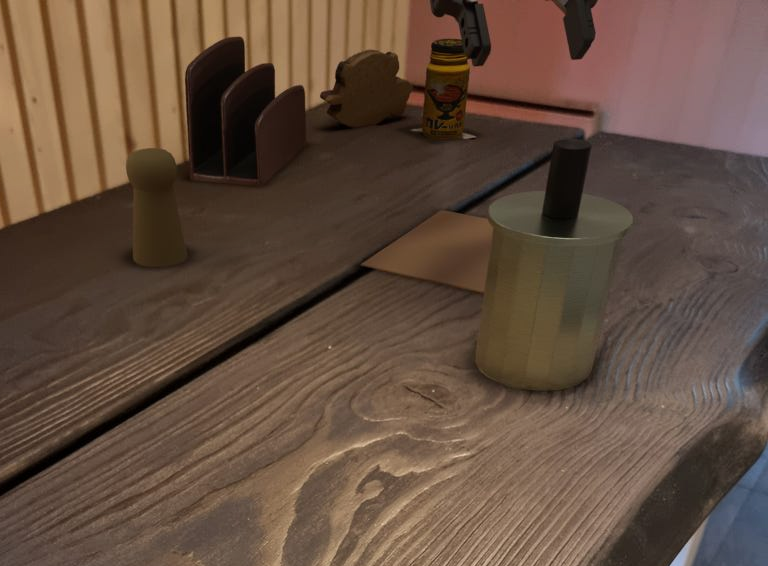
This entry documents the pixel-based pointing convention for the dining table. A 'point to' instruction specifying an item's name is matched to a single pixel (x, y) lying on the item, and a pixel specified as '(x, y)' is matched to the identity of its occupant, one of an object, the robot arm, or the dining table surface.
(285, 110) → the letter holder
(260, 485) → the dining table surface
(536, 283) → the green cylindrical container
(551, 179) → the lid
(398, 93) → the wooden carving
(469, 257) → the cork mat
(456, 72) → the condiment
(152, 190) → the pepper shaker
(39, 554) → the dining table surface
